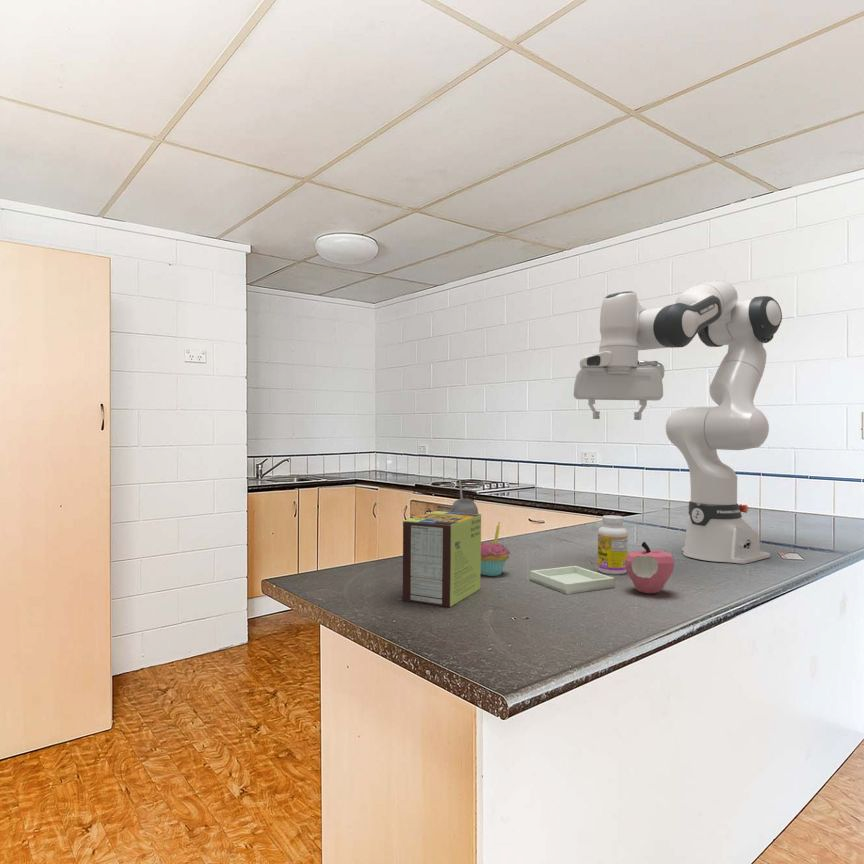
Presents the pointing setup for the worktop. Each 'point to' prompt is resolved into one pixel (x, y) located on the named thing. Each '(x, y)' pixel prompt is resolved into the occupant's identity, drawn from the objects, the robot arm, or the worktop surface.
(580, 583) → the tray
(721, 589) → the worktop surface
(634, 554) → the apple
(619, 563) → the supplement bottle
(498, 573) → the cupcake
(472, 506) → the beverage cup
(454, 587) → the protein box
